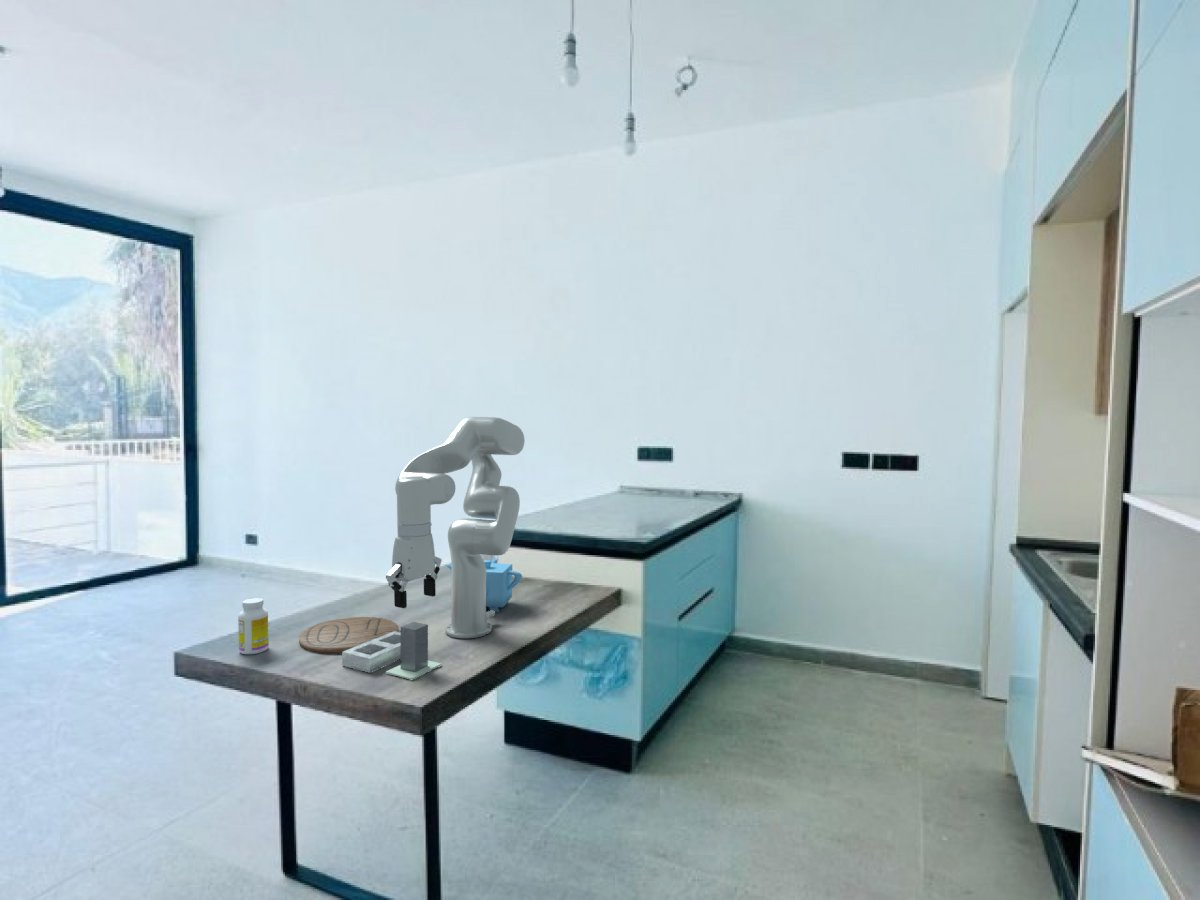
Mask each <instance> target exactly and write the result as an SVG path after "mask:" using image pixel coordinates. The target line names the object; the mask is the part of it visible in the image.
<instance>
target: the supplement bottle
mask: <svg viewBox="0 0 1200 900" xmlns="http://www.w3.org/2000/svg"><path fill="white" fill-rule="evenodd" d="M241 605H242V608H243V609H242V611H240V612H239V613H238V616H237V617H238V618H237V619H238V621H237V624H238V651H239V653H240V654H243V655H257V654H260V653H264V652H266V651H267V650H268V649H269V612H268V610H267V609H266V608H264V607H263V606H264V599H263V598H261V597H255V598H253V597H252V598H248V599H244V600H243V601H242V604H241Z"/></svg>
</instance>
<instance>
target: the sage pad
mask: <svg viewBox="0 0 1200 900" xmlns="http://www.w3.org/2000/svg"><path fill="white" fill-rule="evenodd" d="M440 665H441V666H442V663H441V662H437V661H432V660H428V666H427V667H425V668H423V669H421V670H419V671H417V672H412V671H407V670H403V669H401V664H399V665H397V666H395V667H393V668H390V669H389V670H386V671H385V674H386V673H387V674H392V675H396V676H400V677H404V678H408V679H414V678H416V677H418V676H420V675H422V674H424V673H426V672H428V671H430V670H432V669H435V668H436V667H438V666H440ZM435 670H436V669H435ZM387 674H386V675H387Z"/></svg>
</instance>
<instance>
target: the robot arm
mask: <svg viewBox="0 0 1200 900" xmlns="http://www.w3.org/2000/svg"><path fill="white" fill-rule="evenodd" d="M525 442H526V441H525V435H524V432H523V431H522V429H521V427H520V426H518V425H516V424H515V423H512V422H510V421H508V420H506V419H503V418H501V417H493V416H492V417H491V416H489V417H488V416H486V417H485V416H469V417H465V418H464V419H461V420H460V421H459V422H458V424H457V425H456V426H455V428H454V429H453V430H452V431H451V433H450V434H449V435H448V437H447V438H446V439H445V441H444V442H442V444H441V445H437V446H436V447H435V446H434V447H433V448H431V449H428V450H427V451H425V452H423V453H421V454H419V455H417V456H415V457H414V458H413V459H412V460H410V461H409V462H408V464H407V465H406V466H405V467H404V468H403V469H402V470H401V472H400V473H399V475H398V477H397V479H396V482H395V487H394V488H395V489H394V490H395V494H396V517H397V518H396V521H397V522H396V523H397V537H394V538H395V539H394V542H393V543H394V544H393V548H392V549H393V550H392V561H391V569H390V570H389V571H388V573H387V574H386V575H385V579H386V581H387V583H388V586H389V587H390V588H391V590H392V591H393V593H394V595H393V598H394V601H393V602H394V607H395V608H399V609H400V608H401V609H407V606H408V599H407V598H408V595H407V590H406V588H407V585H408V583H409V582H411V581H414V580H418V579H420V578H423V596H424V595H425V596H427V597H428V596H429V597H435V596H436V593H437V591H436V580H437V579H438V574H439V572H440V567H441V564H442V560H443V559H442V558H440V557H438V556H436V554H435V544H434V538H433V534H432V520H431V518H432V517H431V516H432V515H431V509H432V508H431V506H433V505H444V504H446V503H448V502H450V501H451V500H452V499H453V497H454V496H455V493H456V483H455V480H454V479H453V478H452V477H451V476H450V475H449V473H453V472H456V471H459V470H462V469H464V468H466V467H467V466H468V465H469V463H471V464H472V473H471V476H470V479H469V482H468V486H467V488H466V489H467V490H466V493H465V496H464V500H463V504H462V507H463V512H464V513H465V514H466V515H467V516H468V517H471V518H459V519H456V520H454V522H452V523H451V524H450V525H449V527H448V529H447V540H448V542H447V543H448V548H449V554H450V563H451V564H450V565H451V570H450V571H451V578H450V579H451V581H450V583H451V590H450V591H451V593H450V595H451V596H450V597H451V602H450V604H451V605H450V607H451V610H450V614H451V615H450V618H451V620H450V624H449V625H446V627H445V634H446V635H447V636H448V637H451V638H455V639H476V638H481V637H484V636H486V634H487V635H488V634H489V633H491V632H492V625H491V623H489V622H488V620H489V619H490V618H493V617H494V616H495V615H496V612H494V611H493V610H490V611H489V610H488V611H487V607H486V566H485V563H484V561H483V558H482V556H481V555H486V556H503V555H505V554H506V553H507V552H508V550H509V548H510V546H511V543H512V540H513V536H514V533H515V532H514V531H515V530H516V529H515V528H516V525H517V521H518V516H519V511H520V504H521V503H520V501H521V500H520V495H519V493H518V491H517V490H516V489H515V488H514V487H512V486H510V485H509V486H508V485H500V483H501V481H502V480H501V479H502V471H501V468H500V466H499V464H498V462H497V461H496V460H495V459H494V456H492V455H495V456H497V455H499V456H500V455H501V456H515V455H519V454H520V453H521V452H522V451H523V449H524V447H525V446H524V445H525ZM424 577H425V578H424Z"/></svg>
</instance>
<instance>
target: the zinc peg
mask: <svg viewBox="0 0 1200 900" xmlns="http://www.w3.org/2000/svg"><path fill="white" fill-rule="evenodd" d="M400 633H401V660H400V665H401V669H403V670H407V671H412V672H417V671H419V670H421V669H423V668H425V667H427V666H428V661H429V646H428V645H429V624H427V623H422V622H416V621H413V622H409V623H407V624H404V625H402V626H400Z"/></svg>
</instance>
